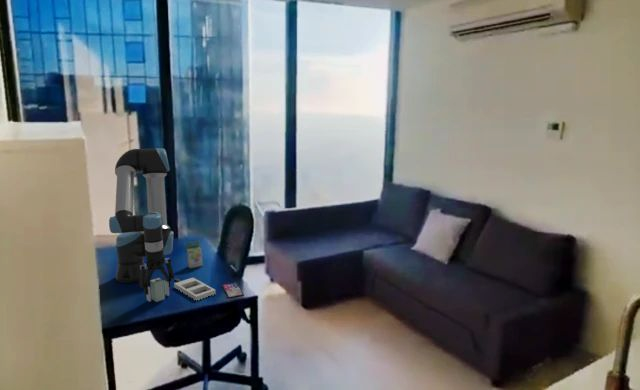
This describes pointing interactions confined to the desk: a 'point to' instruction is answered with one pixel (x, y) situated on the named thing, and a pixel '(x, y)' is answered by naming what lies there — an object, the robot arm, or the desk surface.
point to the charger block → (157, 289)
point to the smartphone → (232, 290)
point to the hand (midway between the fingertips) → (158, 297)
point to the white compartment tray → (194, 288)
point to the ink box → (194, 255)
